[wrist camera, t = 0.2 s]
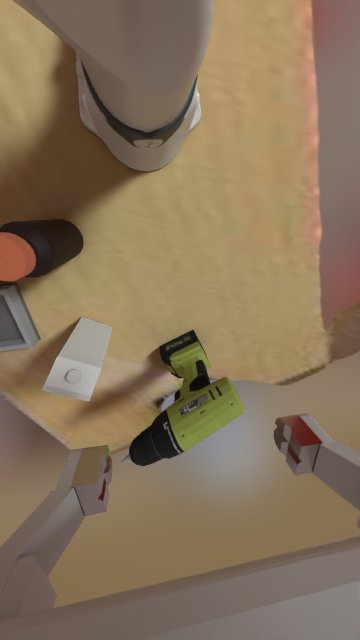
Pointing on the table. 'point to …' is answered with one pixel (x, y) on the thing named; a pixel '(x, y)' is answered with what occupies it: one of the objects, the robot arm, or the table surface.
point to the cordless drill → (186, 405)
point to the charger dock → (15, 321)
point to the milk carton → (79, 361)
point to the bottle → (36, 247)
